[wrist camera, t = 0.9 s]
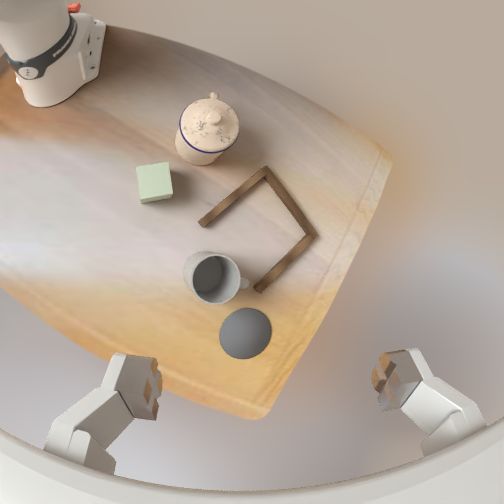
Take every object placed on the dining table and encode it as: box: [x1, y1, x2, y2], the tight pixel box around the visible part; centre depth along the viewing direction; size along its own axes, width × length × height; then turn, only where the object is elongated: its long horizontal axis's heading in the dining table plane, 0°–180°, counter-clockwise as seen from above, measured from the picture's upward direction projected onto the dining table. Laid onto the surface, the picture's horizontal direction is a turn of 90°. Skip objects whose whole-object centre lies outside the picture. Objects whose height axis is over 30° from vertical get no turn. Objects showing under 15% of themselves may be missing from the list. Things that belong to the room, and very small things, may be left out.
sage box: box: [136, 162, 173, 203], centre depth 42 cm, size 5×5×5 cm
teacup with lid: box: [175, 92, 239, 165], centre depth 41 cm, size 12×9×12 cm
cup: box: [183, 251, 250, 305], centre depth 44 cm, size 7×10×9 cm
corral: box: [198, 166, 318, 293], centre depth 50 cm, size 16×16×2 cm
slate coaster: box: [219, 308, 271, 359], centre depth 51 cm, size 10×10×1 cm
